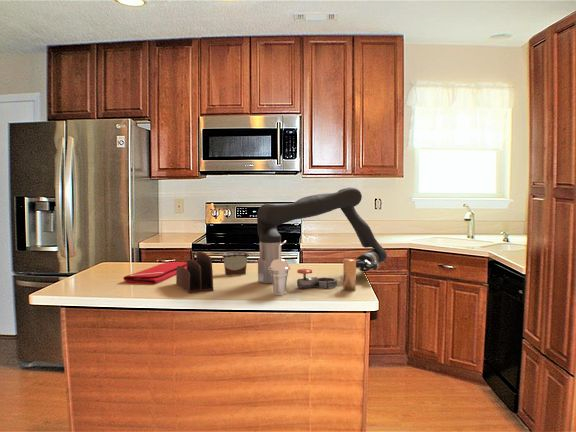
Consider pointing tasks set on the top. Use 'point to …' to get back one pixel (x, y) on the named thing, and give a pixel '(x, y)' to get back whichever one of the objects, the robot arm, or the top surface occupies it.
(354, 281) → the copper cylinder
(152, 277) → the dish drying mat
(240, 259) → the food container
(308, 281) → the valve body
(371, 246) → the robot arm
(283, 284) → the cup with straw
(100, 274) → the top surface
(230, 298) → the top surface
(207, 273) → the letter holder
